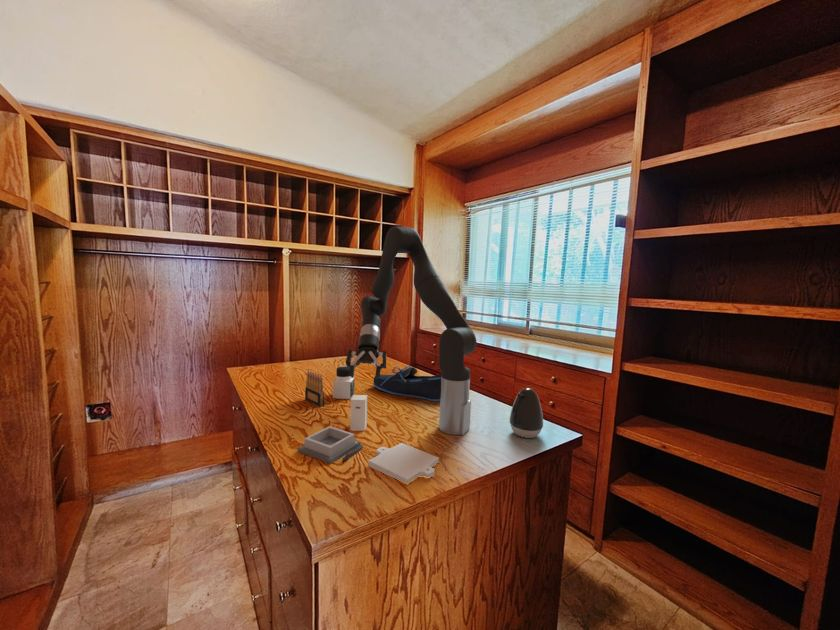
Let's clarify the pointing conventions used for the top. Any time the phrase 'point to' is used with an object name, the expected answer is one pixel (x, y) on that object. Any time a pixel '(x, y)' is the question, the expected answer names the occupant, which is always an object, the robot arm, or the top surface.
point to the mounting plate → (403, 462)
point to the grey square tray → (329, 444)
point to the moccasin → (410, 384)
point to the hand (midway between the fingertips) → (364, 377)
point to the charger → (358, 413)
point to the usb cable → (352, 452)
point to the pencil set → (314, 389)
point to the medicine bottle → (343, 384)
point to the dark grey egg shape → (526, 414)
